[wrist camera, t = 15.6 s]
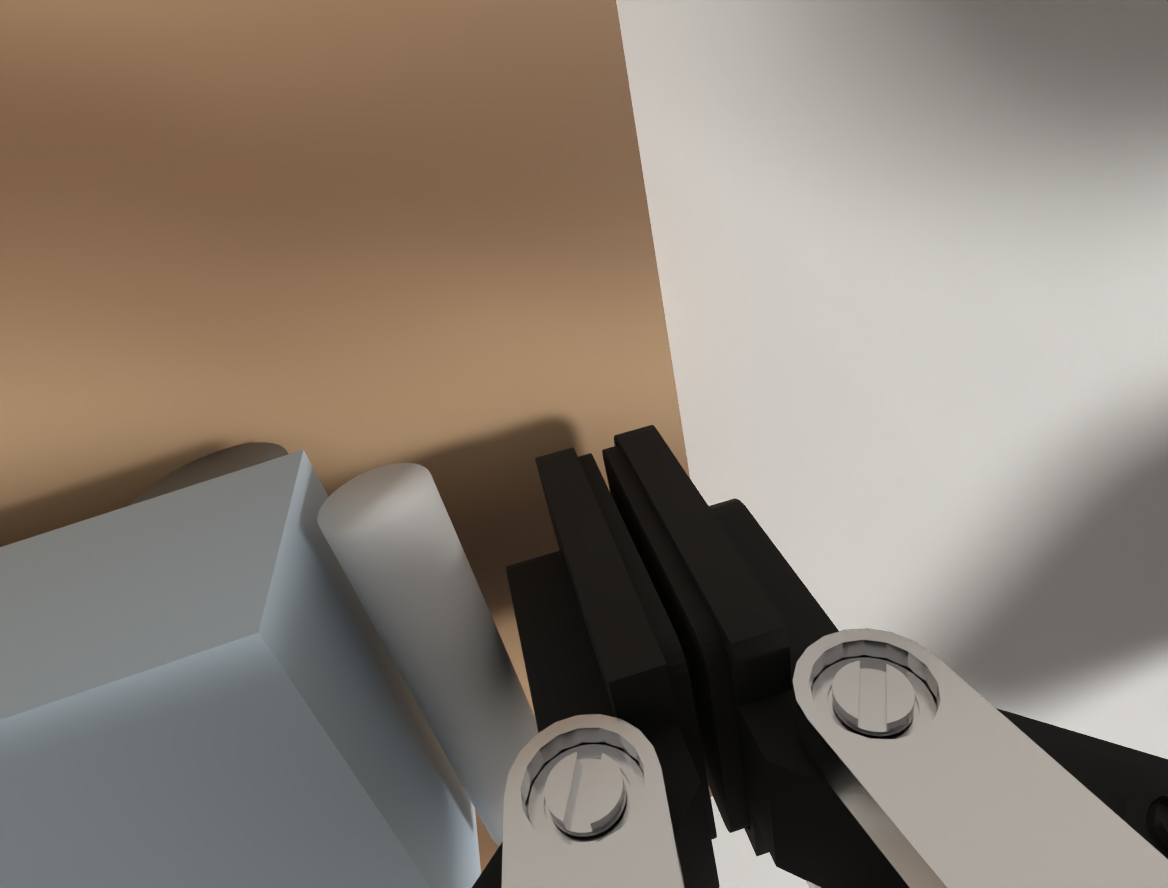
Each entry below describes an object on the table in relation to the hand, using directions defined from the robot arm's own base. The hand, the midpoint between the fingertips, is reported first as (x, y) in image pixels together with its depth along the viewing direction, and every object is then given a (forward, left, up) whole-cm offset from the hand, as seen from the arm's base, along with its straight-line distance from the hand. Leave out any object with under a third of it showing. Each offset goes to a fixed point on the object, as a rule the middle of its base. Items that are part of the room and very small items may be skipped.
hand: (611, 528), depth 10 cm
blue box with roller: (-1, +8, -1) cm, 8 cm away
